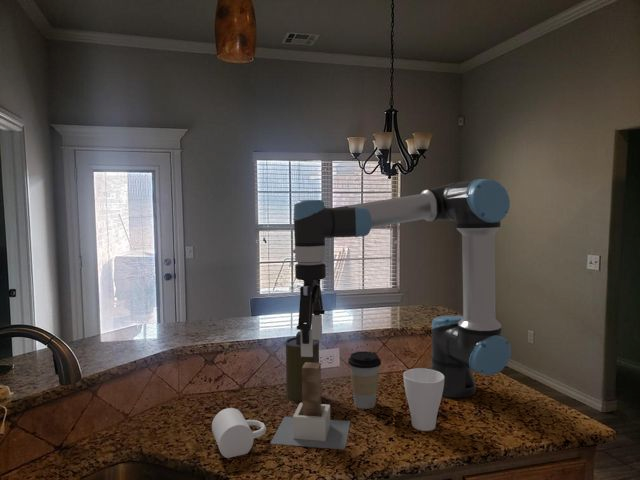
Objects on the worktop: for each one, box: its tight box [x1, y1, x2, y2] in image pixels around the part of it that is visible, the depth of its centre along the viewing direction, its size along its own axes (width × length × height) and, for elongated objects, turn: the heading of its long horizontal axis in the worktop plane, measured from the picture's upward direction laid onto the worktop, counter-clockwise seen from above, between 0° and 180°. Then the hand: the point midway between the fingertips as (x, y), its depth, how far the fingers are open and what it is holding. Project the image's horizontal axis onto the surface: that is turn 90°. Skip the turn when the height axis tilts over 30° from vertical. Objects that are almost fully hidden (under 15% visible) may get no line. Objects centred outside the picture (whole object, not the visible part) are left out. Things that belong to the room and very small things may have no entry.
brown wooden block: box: [301, 362, 322, 417], centre depth 109 cm, size 4×4×16 cm
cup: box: [402, 367, 445, 432], centre depth 114 cm, size 10×10×14 cm
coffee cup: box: [347, 350, 382, 410], centre depth 125 cm, size 9×9×15 cm
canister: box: [284, 330, 321, 403], centre depth 132 cm, size 11×10×20 cm
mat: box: [269, 416, 351, 450], centre depth 110 cm, size 18×14×1 cm
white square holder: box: [292, 402, 331, 441], centre depth 110 cm, size 8×8×6 cm
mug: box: [211, 407, 267, 459], centre depth 104 cm, size 12×10×8 cm
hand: (312, 347), depth 109 cm, fingers open, 13 cm apart
